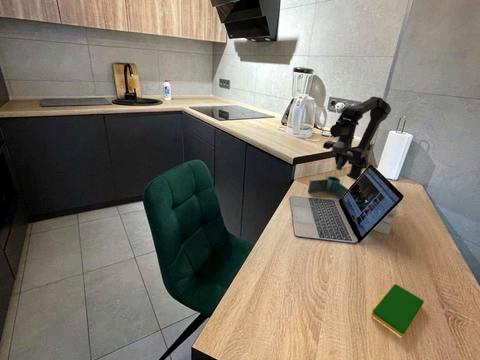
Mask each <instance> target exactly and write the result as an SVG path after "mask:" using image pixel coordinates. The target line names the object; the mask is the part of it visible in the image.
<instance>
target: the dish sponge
mask: <svg viewBox="0 0 480 360" xmlns="http://www.w3.org/2000/svg"><path fill="white" fill-rule="evenodd" d="M424 303H425V302H424V299H422V298H420V297H418V296H417V295H415V294H413V293H412V292H410V291H408V290H406V289H405V288H403V287H401V286H400V285H398V284H395V283H394V284H393V285H392V286H391V288H390V289H389V290H388V292H386V293H385V295H384V297H382V299H381V300H380V301H379V302H378V304H377V305H376V306H375V307H374V309H372V312H371V314H370V316H371V315H372V316H373V317H375V318H376V319H377V320H379V321H380V322H382V323H383V324H385V325H386V326H387V327H389V328H390V329H392V330H393V331H395V332H396V333H398V334H399V335H400V336H403V335H404V336H405V334H406V333H405V332H407V331H408V329H409V328H410V326H411V324H412V323H413V322H414V320H415V319H416V316H417V315H418V314H419V312H420V310H421V308H422V306H423V304H424ZM413 319H414V320H413ZM408 327H409V328H408ZM404 336H403V337H404Z"/></svg>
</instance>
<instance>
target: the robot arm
mask: <svg viewBox="0 0 480 360" xmlns="http://www.w3.org/2000/svg"><path fill="white" fill-rule="evenodd" d="M391 111H392V107H391V106H390V104H389V103H387V102H386V101H385V100H384V99H383V98H382V97H378V96H371V97H370V98H369V99H366V100H364V101H363V102H361V103H359V104H354V105H353V104H352V105H347V106H346V107H345V108H344V109H343V111H342V112H341V113H340V115H339V117H338V118H337V120H336V122H335V124H333V125H332V126H330V130H329V133H330V135H331V137H333V138H338V139H337V141H332V140H327V141H325V142H324V143H323V144H322V149H325V150H329V149H331V150H330V152H331V153H332V154H333V156H334V163H335V165H336V166H337V162H338V158H339V154H342V153H345V158H344V161H343V164H342V168H343V167H345V165H346V164H348V165H351V167H350V170H349V172H348V173H347V174H346V176H347V177H350V178H354V179H356V180H358V179H357V178H358V177H359V176H360V175H362V172H363V169H367V168H368V166H369V163H370V162H369V161H368V157H369V152H368V149H369V147H370V145H371V142H372V141H373V138H374V136H375V135H376V132H377V131H378V128H379V126H380V124H381V123H382V122H383V121H385V120H386V119H387V117H388V116H389V115H390V113H391ZM367 112H369V117H370V119H369V122H368V124H367V126H366V128H365V130H364V132H363V135H362V136H361V139H360V141H359V143H358V145H357V146H356V147H353V145H352V143H353V141H354V139H355V133H356V130H357V126H359V121H360V120H361V119H363V117H364V114H367ZM347 162H348V163H347Z"/></svg>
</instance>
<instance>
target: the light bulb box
mask: <svg viewBox="0 0 480 360" xmlns="http://www.w3.org/2000/svg"><path fill="white" fill-rule="evenodd" d="M367 202H368V201H367V200H366V199H365V202H364V203H367ZM398 207H399V204H398V205H397V206H396V207H395V208H394V209H393V210H392V211H391V212H390V213H389V214H388V215H387V216H386V217H385V218H384V219H383V220H382V221H381V222H380V223H379V224H378V225H377V227H376V228H375V229H374V230H373V231H376V232H378V233H382V234H384V235H388V236H389V235H390V232H391V229H392V227H393V223H394V220H395V219H396V215H397V211H398Z"/></svg>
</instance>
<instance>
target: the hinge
mask: <svg viewBox="0 0 480 360" xmlns="http://www.w3.org/2000/svg"><path fill="white" fill-rule="evenodd" d="M348 190H350V189H349V188H347V186H344V185H343V184H342V183H341V179H340V178H339V177H338V176H337V177H336V176H333V175H329V176H328V175H327V176H326V177H325V178H324V179H323V178H322V179H311V180H309V183H308V189H307V193H309V194H311V193H317V192H318V193H321V192H326V193H328V194H334V195H335V196H336V197H337V198H339V199H340V198H341V197H342V196H343V195H344V194H345V193H346V192H347V191H348Z"/></svg>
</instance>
